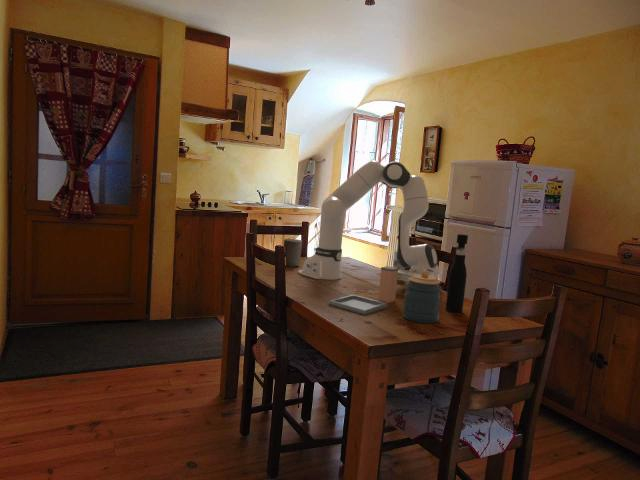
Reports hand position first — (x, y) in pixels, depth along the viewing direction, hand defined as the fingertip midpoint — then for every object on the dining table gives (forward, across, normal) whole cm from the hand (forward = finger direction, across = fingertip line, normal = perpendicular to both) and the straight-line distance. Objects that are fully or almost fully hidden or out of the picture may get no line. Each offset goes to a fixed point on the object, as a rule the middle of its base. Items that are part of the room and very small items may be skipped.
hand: (403, 279), depth 202 cm
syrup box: (-33, -20, +8) cm, 39 cm away
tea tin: (+12, 0, +7) cm, 14 cm away
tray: (+30, -2, +7) cm, 31 cm away
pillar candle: (-9, -71, +7) cm, 72 cm away
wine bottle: (+3, +25, +8) cm, 26 cm away
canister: (+24, +21, +8) cm, 33 cm away
